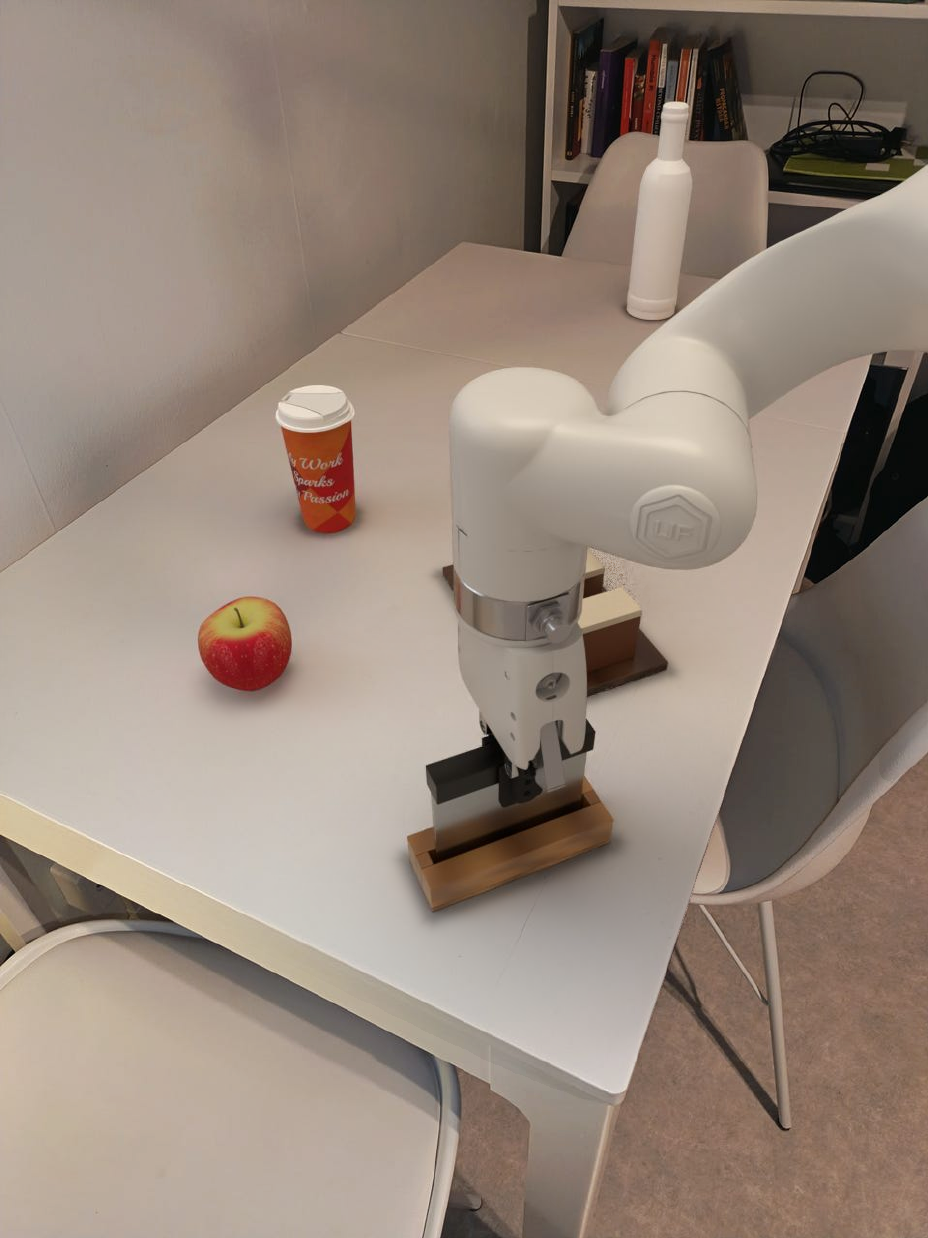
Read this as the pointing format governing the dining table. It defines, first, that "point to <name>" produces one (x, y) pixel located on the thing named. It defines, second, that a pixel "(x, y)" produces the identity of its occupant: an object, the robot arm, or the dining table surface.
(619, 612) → the cake slice
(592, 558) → the cake
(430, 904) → the knife block
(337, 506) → the coffee cup
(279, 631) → the apple
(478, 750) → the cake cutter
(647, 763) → the dining table surface
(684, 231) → the bottle
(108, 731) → the dining table surface
